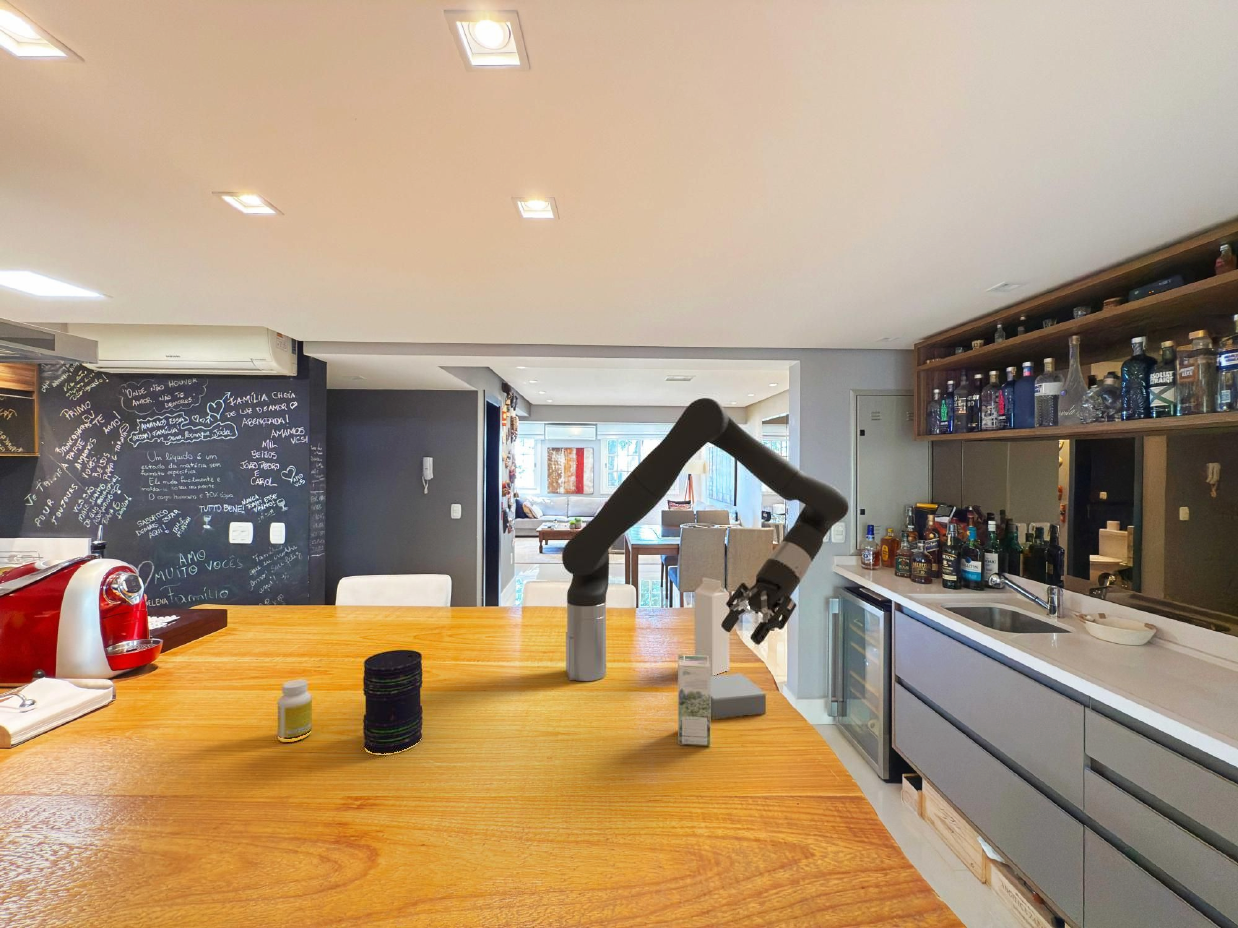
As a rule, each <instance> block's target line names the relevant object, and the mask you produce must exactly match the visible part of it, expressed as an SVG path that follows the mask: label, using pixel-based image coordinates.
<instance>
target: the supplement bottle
mask: <svg viewBox="0 0 1238 928" xmlns="http://www.w3.org/2000/svg"><path fill="white" fill-rule="evenodd" d="M307 690H308V680H306V679H294V680H290V681H286V682H285V683H283V684H282V694H283V695H281V697H279V698H278V701H277V737H278V736H279V737H280V738H283V739H292V738H298V737H300V736H303V735H306V734H307V733H309V732H310V731H311V730H312V729H313V726H312V725H313V724H312V723H313V722H312V721H313V719H312V716H313V715H312V713H313V710H312V708H313V707H312V706H313V705H312V704H313V703H312V702H313V699H312V698H313V697H312V693H311V692H310V691H307Z"/></svg>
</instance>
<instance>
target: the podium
mask: <svg viewBox="0 0 1238 928" xmlns="http://www.w3.org/2000/svg"><path fill="white" fill-rule="evenodd" d="M766 699H767V697H766V692H765V691H763V690H762V689H761V688H760V687H759V686H758V685H756V684H755V683H754V682H753V681H751V680H750V679H749V678H748V677H746V675H744V674H743V673H733V674H718V675H715V676H711V716H710V717H711V718H712V717H713V718H714V719H713V718H712V719H713V720H718V719H717V718H721V719H725V718H724V717H730V718H736V717H735V716H739V717H744V716H743V715H748V716H755V715H756V714H758V715H766V714H767V713H766V712H767V709H766V708H767V705H766V703H767V702H766Z"/></svg>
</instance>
